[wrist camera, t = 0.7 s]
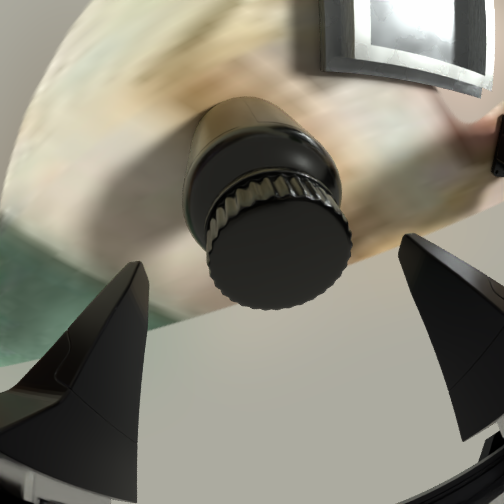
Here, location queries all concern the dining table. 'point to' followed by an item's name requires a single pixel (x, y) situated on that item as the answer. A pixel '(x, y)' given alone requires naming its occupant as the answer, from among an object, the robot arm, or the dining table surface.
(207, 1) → the dining table surface
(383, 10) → the gray square tray
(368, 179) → the dining table surface
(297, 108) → the dining table surface
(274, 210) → the supplement bottle
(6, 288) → the dining table surface
